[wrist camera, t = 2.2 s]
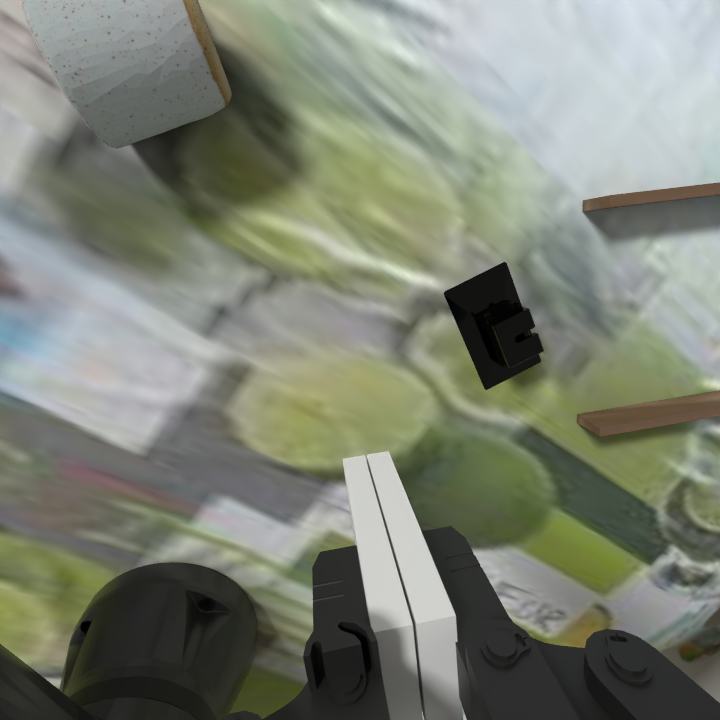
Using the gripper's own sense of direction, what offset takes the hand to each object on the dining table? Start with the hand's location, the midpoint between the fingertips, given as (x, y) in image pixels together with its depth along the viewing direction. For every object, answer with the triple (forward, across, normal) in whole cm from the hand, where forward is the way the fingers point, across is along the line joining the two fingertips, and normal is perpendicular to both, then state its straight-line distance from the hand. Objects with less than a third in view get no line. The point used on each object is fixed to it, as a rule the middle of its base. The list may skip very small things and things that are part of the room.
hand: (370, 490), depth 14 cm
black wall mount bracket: (+20, -14, 0) cm, 24 cm away
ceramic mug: (+20, +9, -21) cm, 30 cm away
